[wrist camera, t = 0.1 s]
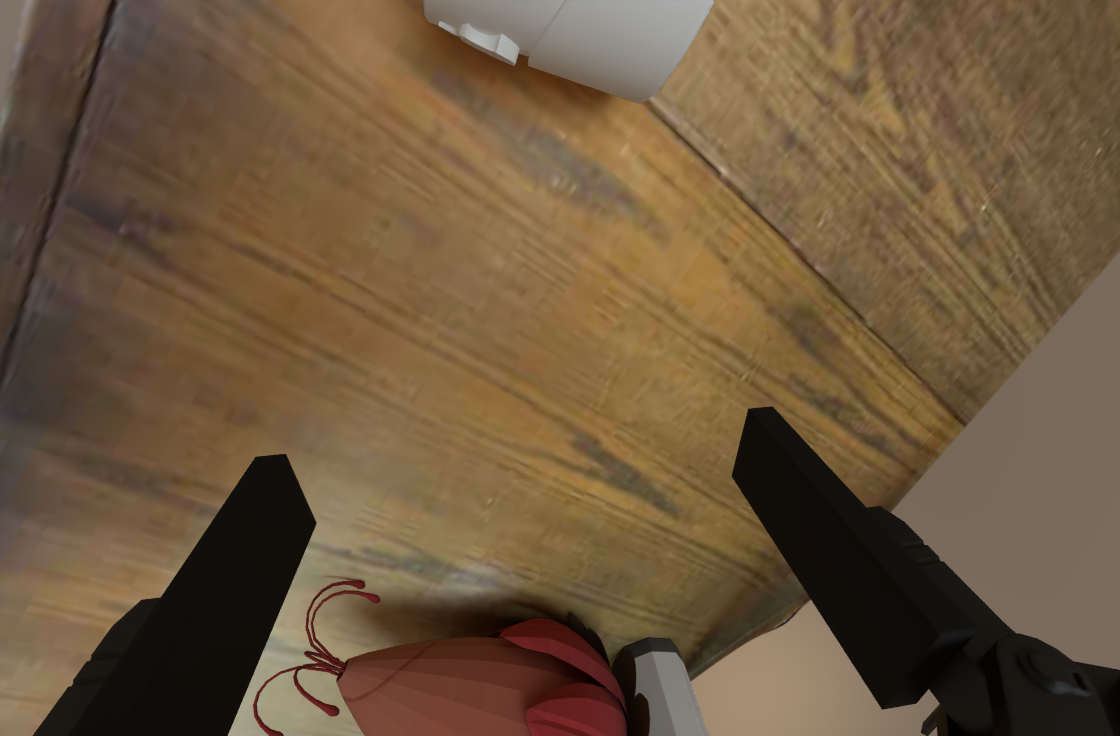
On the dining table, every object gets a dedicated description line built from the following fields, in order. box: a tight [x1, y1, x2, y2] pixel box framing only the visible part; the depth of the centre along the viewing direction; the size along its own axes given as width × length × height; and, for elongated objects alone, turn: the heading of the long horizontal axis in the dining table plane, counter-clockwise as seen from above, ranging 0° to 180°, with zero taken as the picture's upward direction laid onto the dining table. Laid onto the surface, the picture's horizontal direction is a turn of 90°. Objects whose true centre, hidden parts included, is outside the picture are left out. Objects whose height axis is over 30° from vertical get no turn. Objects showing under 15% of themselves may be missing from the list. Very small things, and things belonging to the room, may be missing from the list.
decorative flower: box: [253, 581, 650, 736], centre depth 37 cm, size 22×23×30 cm
